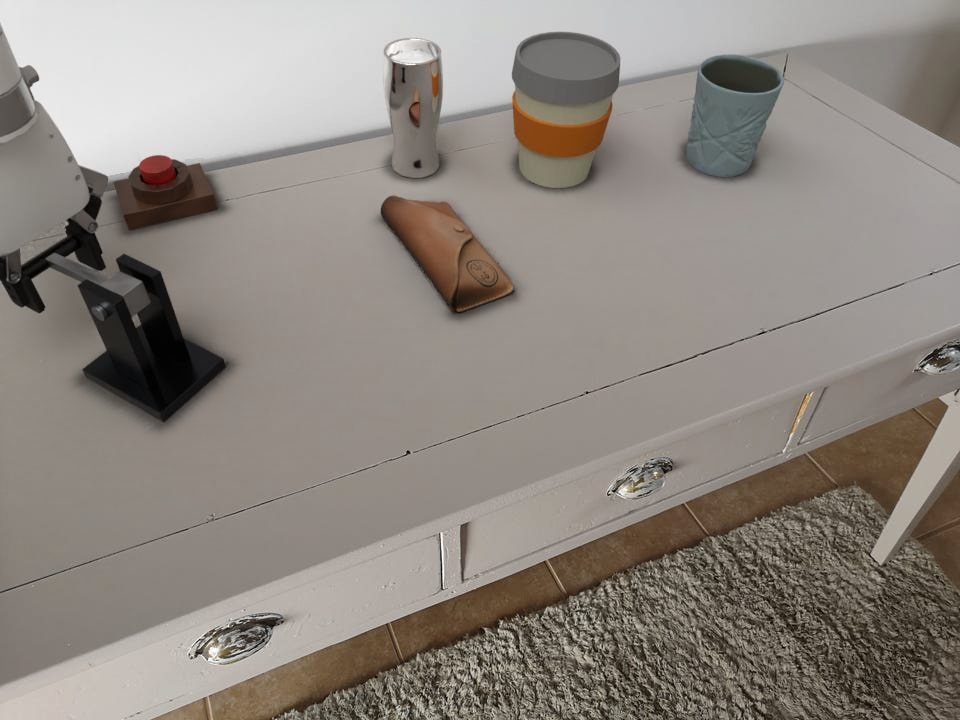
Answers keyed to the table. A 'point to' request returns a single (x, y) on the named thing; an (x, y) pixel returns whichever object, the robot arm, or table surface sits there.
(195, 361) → the bracket
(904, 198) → the table surface
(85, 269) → the lever
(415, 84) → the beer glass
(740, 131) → the embossed green cup
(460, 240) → the sunglasses case
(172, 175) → the button
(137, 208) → the control block
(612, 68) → the reusable coffee cup
